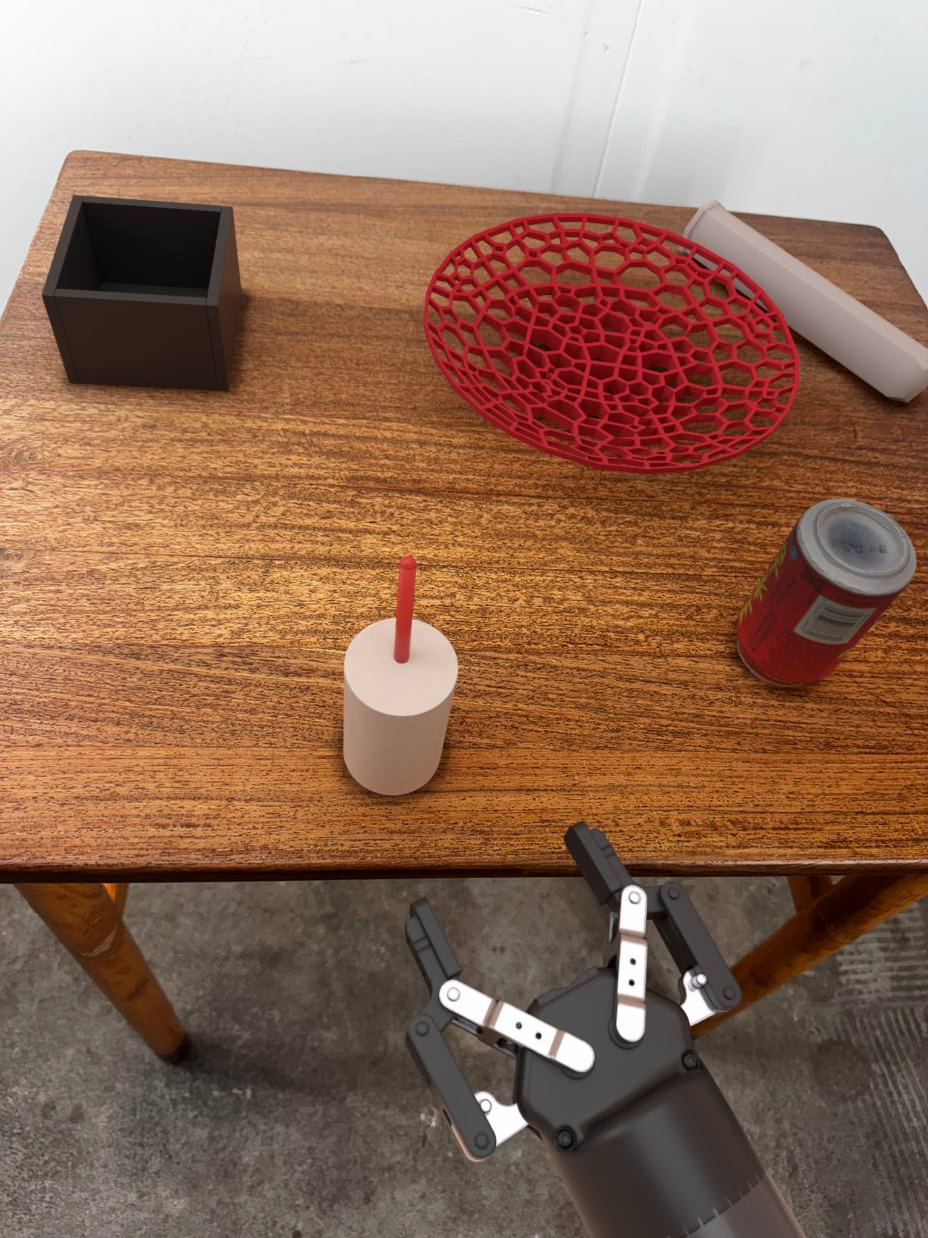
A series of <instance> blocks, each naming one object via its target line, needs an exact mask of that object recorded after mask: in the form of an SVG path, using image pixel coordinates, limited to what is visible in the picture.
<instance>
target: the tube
mask: <svg viewBox="0 0 928 1238" xmlns="http://www.w3.org/2000/svg"><path fill="white" fill-rule="evenodd" d="M681 237H683V238H686V239H688V240H691V241H693V242H695V243H698V244H699V245H701V246H703V247H705V248H706V249H708V250H710V251H711V252H713V253H715V254H717V255H718V256H720V257H722V258H724V259H725V260H727V261H729V262H731V263H732V264H734V265H736V266H737V267H738V268H739V269H740V270H741V271H743V272H744V273H745V274H746V275H747V276H748V277H749V278H751V279H752V280H753V281H754V282H755V283H756V284H757V285H759V286H760V287H761V288H762V289H763V290H764V291H765V293H766V294H767V295H768V296H769V298H770V299H771V300H772V301H773V303H774V304H775V305H776V306H777V308H778V309H779V310H780V312H781V313H782V314H783V315H784V318H785V320H786V323H787V325H788V328H790V329H792V330H793V331H794V332H795V333H796V334H798V335H800V336H801V337H802V338H804V339H805V340H807V341H808V342H810V343H811V344H812V345H813V346H814V347H817V348H818V349H819V350H820V351H822V353H825V354H826V355H828V356H829V357H830V358H832V359H833V360H834V361H836V362H837V363H839V364H840V365H841V366H842V367H844V368H845V369H847V370H848V371H850V372H851V373H852V374H854V375H855V376H857V377H858V378H859V379H861V380H862V381H864V382H865V383H866V384H867V385H870V387H871V388H873V389H875V390H876V391H877V392H878V393H880V394H882V395H883V396H884V397H886V398H887V399H889V400H890V401H897V402H901V403H902V402H903V403H909V402H911V400H912V399H914V398H915V397H916V396H918V395H919V394H920V393H922V392H923V391H924V390H925V389H926V388H928V348H927V347H925V346H924V345H923V344H921V343H920V342H918V341H917V340H915V339H914V338H913V337H911V336H910V335H908V334H907V333H905V332H904V331H902V330H901V329H900V328H898V327H897V326H895V325H894V324H892V323H891V322H890V321H888V320H886V319H885V318H883V317H882V316H880V315H879V314H877V312H874V311H873V310H872V309H870V308H869V307H867V306H866V305H865V304H863V303H862V302H861V301H859V300H857V299H856V298H854V297H853V296H851V295H850V294H848V293H847V292H846V291H844V290H843V289H841V288H839V287H838V286H837V285H835V284H833V283H832V281H830V280H828V279H827V278H825V277H824V276H822V275H820V274H819V273H818V272H816V271H815V270H813V269H812V268H811V267H809V266H808V265H807V264H804V262H802V261H800V260H799V259H797V258H796V257H794V256H793V255H792V254H790V253H789V252H788V251H786V250H784V249H783V248H782V247H780V246H778V245H777V244H776V243H774V242H773V241H771V240H770V239H768V238H767V237H765V236H764V235H763V234H761V233H760V232H758V231H757V230H755V228H752V227H751V226H750V225H748V224H747V223H745V222H744V221H742V220H741V219H739V218H738V217H736V216H735V215H734V214H732V213H730V212H729V211H727V209H726V208H725V207H724V205H723V204H721V203H720V202H719V201H718V200H717V199H714V200H712V201H710V202H708V203H706V204H704V205H702V206H700V207H699V208H698V210H697V211H696V213H695V214H694V216H693V217H692V218H691V219H690V221H689V222H688V224H687V226H686V227H685V228H684V232H683V234H682V236H681ZM677 250H678V251H680V252H681V254H683V256H685V257H688V256H689V254H690V252H691V250H688V249H686V248H684V247H681V246H679V245H678V247H677ZM692 259H694V260H695V261H697V262H699V263H700V264H701V265H702V266H704V267H705V268H706V269H707V270H712V271H715V269H716V268H717V267H718V266H717V265H716V264H714V263H712V262H710V261H709V260H707V259H705V258H704V257H702V256H700V255H698V254H697V253H696V254H695V255H694V257H693V258H692ZM720 273H721V274H723V275H726V276H728V277H729V276H730V275H731V274H730V273H729V272H727V271H726V270H724V269H722V270H721V272H720ZM732 282H733V284H734V287H735V290H736V291H739V292H740V293H742V294H743V295H744V296H746V297H747V298H748V299H749V300H750V301H751V300H752V298H753V297H754V295H755V294H754V293H753V292H752V291H750V290H749V289H748V288H747V287H746V286H745V285H744V284H743V283H741V282H740V281H739V280H738V279H737V278H735V279H734V280H733V281H732ZM755 304H757V306H760V307H761V308H762V309H763V310H765V311H766V312H767V313H770V312H769V311H768V310H767V308H766V307H765V306H764V305H763V303H762V302H761V301H760V300H759V298H758V300H757V301H756V303H755Z"/></svg>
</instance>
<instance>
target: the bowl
mask: <svg viewBox="0 0 928 1238" xmlns="http://www.w3.org/2000/svg"><path fill="white" fill-rule="evenodd" d="M551 223H552V225H553V227H554V230H552V231H550V232H545V231H542V230H537V229H533V228H530V226H535V225H536V226H537V225H542V224H551ZM561 223H581V224H580V227H579V228H577V227H575V228H573V227H563V226H562V224H561ZM587 223H589V224H596V225H597V224H598V225H605V226H612V228H611V231H608V232H602V233H597V232H594V231H591V230H588V229H585V228H586V225H587ZM619 227H620V228H624V229H628V230H631V231H632V233H633V235H634V237H635V239H636V240H634V241H633V242H632V241H630V240H629V241H628V240H627V239H623V238H622V237H621V236H620V235H619V234H618V233H617V230H618V228H619ZM518 228H522V231H521V232H519V233H518V232H517V230H516V229H518ZM506 232H508V233H509V235H510V237H511V240H509V241H508V242H507V243H505V242H498V241H494V240H493V239H492V238H493V237H496V236H498V235H502V234H504V233H506ZM644 234H645V235H648V236H652V237H654V238H657V240H654V239H650V238H647V237H645V236H644ZM526 238H528V239H532V240H536V241H539V242H543V243H544V244H543V245H541V246H540V247H531V246H529V245H527V244H526V242H525V241H524V240H525V239H526ZM568 238H573V239H571V240H569V239H568ZM574 238H576V239H574ZM577 238H578V239H577ZM556 239H558V240H559V243H553V242H552V241H553V240H556ZM583 239H584V240H587V241H590V242H594V243H596V244H597V245H595V246H594V247H592V246H590V245H589V244H588V243H587V242H586V241H584V240H583ZM611 240H613V241H614V243H613V242H607V241H611ZM482 241H483V242H484V243H485V244H486V245H488V246H489V247H490V249H491V253H487V254H484V253H483V251H482V250H481V249H480V247H479V246H478V244H479V243H480V242H482ZM665 241H667V242H670V243H672V244H674V245H676V246H678V247H679V246H681V247H684V248H686V249H688V250H691V252H690V254H689V256H688V257H687V256H686V255H679V254H676V253H673V252H672V251H671V250H669V249H667V248H666V247H665V246H664V245H662V244H663V243H664V242H665ZM514 247H518V248H519V250H520V251H521V252H522V253H523V255H524V258H523V259H522V260H521V261H520V262H518V263H517V264H516V265H514V264H513V263H512V261H511V260H510V259H509V257H508V256H507V252H508V251H509V250H511V249H512V248H514ZM576 248H577V249H579V250H580V251H581V252H582V253H584V255H586V256H587V257H588V263H587V262H584V261H581V260H577V259H573V258H571V256H570V255H569V253H568V251H569V250H572V249H576ZM468 249H471V251H472V252H473V254H474V255H475V257H476V259H477V260H476V261H472V260H470V259H468V258H467V257H466V254H465V252H466V251H467V250H468ZM548 252H550V253H555V254H560V256H561V258H562V260H563V261H562V262H561V263H560V264H558V265H554V264H553V263H551V262H550V261H547V260H546V259H544V258H542V255H543V254H546V253H548ZM602 252H604V253H605V252H606V253H615V254H617V255H619V256H620V257H623V262H622V263H621V264H620V265H619V266H617V267H616V268H614V269H612V268H609V267H604V266H599V265H596V258H595V256H597V255H599V254H600V253H602ZM654 252H655V253H657V254H659V255H661V256H662V257H664V258H665V259H667V260H668V262H669V263H667V264H665V265H662V266H660V267H659V266H658V265H657V264H655V263H654V262H653V261H651V260H650V259H649V258H648V255H650V254H652V253H654ZM633 253H635V254H638V255H641V258H631V254H633ZM696 253H697V254H698V255H700V256H702V257H704V258H705V259H707V260H709V261H710V262H712V263H714V264H716V265H717V266H718V267H717V268H716V269H715V271H712V270H710V269H708V268H702V267H700V265H698V264H697V263H696V262H695V261H694V260H693V259H694V258H693V257H694V255H695V254H696ZM492 261H496V262H497V263H500V264H503V265H504V266H505V267H506V270H505V271H503V272H500V273H498V272H497V271H496V270H495V269H494V267H493V266H492V265H491V262H492ZM450 264H451V265H452V266H453V269H454V270H453V272H451V274H449V275H448V274H445V273H444V272H445V271H446V269H447V268H448V267H449V266H450ZM461 266H464V267H465V268H467V269H468V270H469V274H468V275H467V274H466V275H463V276H462V275H461V273H459V267H461ZM482 267H483V269H484V270H485V272H486V273H487V275H488V276H489V279H488V280H487V281H485V282H483V283H481V282H480V281H479V280H478V279H477V278H476V277H475V276H474V275H475V271H476V270H478V269H480V268H482ZM524 268H538V269H540V270H541V271H543V272H544V273H546V274H547V275H548V276H550V282H545V283H544V282H542V283H535V284H534V283H533V284H530V283H529V282H528V280H527V279H525V277H524V276H523V274H521V272H522V270H523V269H524ZM631 268H635V269H636V268H642V269H643V268H644V269H647V270H649V271H650V272H651V273H652V274H654V275H656V276H657V277H658V280H659V282H660V284H657V285H655V286H654V287H652V288H650V289H645V288H641V287H634V286H628V285H623V283H622V281H621V280H620V278H619V277H620V276H621V275H622V274H624V273H625V272H626V271H627V270H629V269H631ZM722 269H724V270H726V271H727V272H729V273H730V274H731V275H730V276H729V277H728V276H726V275H723V274H721V273H720V272H721V270H722ZM567 270H570V271H573V272H576V273H580V274H584V275H586V276H589V278H590V283H587V284H580V285H569V284H566V283H565V284H564V283H561V282H557V276H558V275H560V274H562V273H564V272H566V271H567ZM671 272H674V273H679V274H682V275H683V276H684V277H685V279H686V280H687V281H686V283H685V284H684V285H683V286H681V285H678V284H675V283H672V282H669V281H668V278H667V276H666V275H667V274H668V273H671ZM431 276H432V277H431V279H430V282H429V285H428V286H427V290H426V291H425V296H424V297H425V298H424V308H423V309H424V310H423V323H422V324H423V329H424V334H425V339H426V342H427V344H428V346H429V349H430V353H431V354H432V358H433V360H434V363H435V365H436V366H437V368H438V370H439V371H440V372H441V374H442V376H443V377H444V379H445V380H446V381H447V383H448V384H449V385H450V387H451V389H452V390H453V391H454V392H455V393H456V394H457V395H458V396H459V397H460V398H461V399H462V400H463V401H464V402H465V403H466V404H467V405H468V406H469V407H470V408H471V409H472V410H473V411H474V412H475V413H476V414H477V415H479V416H480V417H481V418H483V419H485V420H486V421H488V423H490V424H492V425H493V426H495V427H496V428H498V429H499V430H500V431H502V432H503V433H505V434H506V435H507V436H509V437H512V438H514V439H515V440H517V441H520V442H521V443H524V444H525V445H528V446H530V447H532V448H534V449H536V450H537V451H540V452H542V453H544V454H547V455H551V456H553V457H556V458H560V459H563V460H566V461H570V462H573V463H576V464H579V465H581V466H586V467H589V468H593V469H596V470H603V471H612V472H622V473H632V474H641V475H657V474H671V473H686V472H687V473H688V472H695V471H698V470H701V469H704V468H708V467H711V466H715V465H717V464H720V463H722V462H727V461H730V460H732V459H736V458H738V457H739V456H741V455H742V454H744V453H746V452H748V451H750V450H751V449H753V448H754V447H756V446H758V445H759V444H761V443H762V442H764V441H765V440H766V439H767V438H768V437H770V436H771V435H772V434H773V433H775V432H776V430H777V429H778V427H779V426H780V425H781V423H782V422H783V421H784V419H785V418H786V416H787V415H788V413H789V412H790V410H791V407H792V404H793V402H794V400H795V396H796V394H797V391H798V388H799V385H800V369H801V368H800V364H801V363H800V362H801V357H800V354H799V352H798V349H797V346H796V344H795V341H794V339H793V336H792V334H791V333H792V332H791V331H790V329H789V328H790V327H789V326H788V325H787V323H786V320H785V318H784V315H783V314H782V313H781V312H780V310H779V309H778V308H777V306H776V305H775V304H774V303H773V301H772V300H771V299H770V298H769V296H768V295H767V294H766V293H765V291H764V290H763V289H762V288H761V287H760V286H759V285H757V284H756V283H755V282H754V281H753V280H752V279H751V278H749V277H748V276H747V275H746V274H745V273H744V272H743V271H741V270H740V269H739V268H738V267H737V266H736V265H734V264H732V263H731V262H729V261H727V260H725V259H724V258H722V257H720V256H718V255H717V254H715V253H713V252H711V251H710V250H708V249H706V248H705V247H703V246H701V245H699V244H698V243H695V242H693V241H691V240H688V239H686V238H683V237H682V236H681V235H679V234H676V233H674V232H671V231H669V230H666V229H663V228H660V227H656V226H652V225H649V224H645V223H642V222H639V221H635V220H633V219H629V218H624V217H617V216H611V215H610V216H609V215H603V214H602V215H601V214H596V213H588V212H552V213H546V214H545V213H544V214H539V215H532V216H524V217H517V218H514V219H511V220H509V221H506V222H504V223H501V224H498V225H495V226H493V227H490V228H488V229H485V230H483V231H480V232H478V233H475V234H472V235H471V236H470V237H469V238H467V239H466V240H464V241H463V242H462V243H460V244H459V245H457V246H456V247H454V248H453V249H452V250H450V251H449V253H448V254H447V256H446V257H445V258H444V260H443V261H442V262H441V264H440V265H439V266H438V268H436V270H435V271H434V273H433V274H432V275H431ZM735 278H737V279H738V280H739V281H740V282H741V283H743V284H744V285H745V286H746V287H747V288H748V289H749V290H750V291H752V292H753V293H754V294H755V295H754V297H753V298H752V300H751V299H749V298H746V297H744V296H742V295H740V294H738V293H737V289H736V288H735V287H734V284H733V282H732V281H733V280H734V279H735ZM599 279H603V280H607V281H610V283H604V282H600V281H599ZM511 280H513V281H514V282H515V284H516V285H517V286H518V288H515V289H513V288H512V287H511V286H510V285H509V284H508V283H507V282H509V281H511ZM713 281H714V282H717V283H719V284H721V285H723V286H725V287H726V290H727V293H728V296H729V297H728V298H727V299H725V300H724V299H722V298H719V297H718V296H714V295H712V293H711V289H710V284H712V283H713ZM437 282H441V283H446V284H447V285H448V286H449V287H450V288H451V290H449V289H447V288H445V287H442V286H440V285H437ZM470 285H471V286H472V287H473V289H471V290H470V291H467V290H466V289H464V287H463V286H470ZM693 285H694V286H697V287H700V288H701V290H702V292H703V295H704V298H703V299H700V300H698V301H697V300H696V299H695V297H694V296H693V294H692V293H691V291H690V289H691V287H692V286H693ZM496 287H497V288H498V289H499V290H500V291H501V293H502V294H503V295H504V297H503V298H496V297H490V295H489V293H488V292H489V291H491V290H492V289H495V288H496ZM433 293H434V294H435V295H438V296H440V297H442V298H445V299H447V300H448V305H440V304H439V303H438V302H437V301H436V300H435V299H434V298H433V297H432V294H433ZM662 293H667V294H671V295H675V296H680V297H681V298H682V300H683V301H684V303H685V305H686V306H685V307H683V308H680V309H679V310H677V309H675V308H673V307H671V306H669V305H666V304H665V303H663V302H661V300H660V299H659V298H658V296H659V295H661V294H662ZM545 296H551V298H552V299H542V298H540V297H545ZM479 297H480V298H481V299H482V301H483V302H484V304H483V306H481V305H480V304H479V303H478V302H477V300H476V299H477V298H479ZM590 297H593V299H594V302H581V301H580V300H579V299H584V298H590ZM610 298H614V299H610ZM615 298H616V299H615ZM758 298H759V300H760V301H761V302H762V303H763V305H764V306H765V307H766V308H767V310H768V311H769V312H770V313H769V312H768V311H767V310H766V311H767V312H766V313H765V312H764V311H763V310H762V309H760V307H759V306H758V305H756V304H757V303H756V301H757V300H758ZM524 299H527V300H528V301H529V303H530V305H531V307H532V308H530V307H529V306H527V305H525V304H523V303H522V302H521V300H524ZM632 301H636V302H637V301H639V302H644V303H646V304H647V305H648V307H645V306H644V307H643V306H639V305H637V304H635V303H634V302H632ZM453 302H463V303H467V304H468V305H469V307H470V308H471V309H472V311H474V313H475V314H476V315H477V317H476V319H475V320H474V323H471V322H468V321H466V320H464V319H462V318H460V317H459V316H458V315H457V313H456V311H455V310H454V308H453ZM731 304H735V305H737V306H739V307H740V308H743V309H744V310H745V311H744V312H739V313H738V312H737V313H733V312H732V309H731V307H730V305H731ZM707 305H708V306H711V307H714V308H716V309H718V310H721V312H722V316H718V317H715V318H710V317H709V316H708V315H707V313H706V312H705V311H704V310H703V308H704V307H705V306H707ZM429 307H431V309H433V310H434V311H435V312H436V313H437V314H438V316H439V319H440V320H441V322H440V323H439V324H438V325H435V324H434V322H432V321H430V320H429ZM561 308H566V309H570V310H571V311H567V310H566V311H565V310H562V309H561ZM490 309H492V310H503V311H504V313H505V314H506V315H507V316H508V317H509V318H507V319H503V320H500V319H499V318H497V317H496V316H494V315H492V314H491V313H490V312H489V311H490ZM618 312H620V313H618ZM621 313H622V314H621ZM545 314H548V315H549V316H548V315H545ZM749 314H751V315H752V316H753V317H754V318H752V317H751V316H749ZM445 315H449V316H450V318H451V320H453V322H454V324H455V325H454V324H452V323H450V322H449V321H447V320H446V319H447V318H446V316H445ZM516 316H517V317H519V318H520V319H519V318H517V317H516ZM690 316H693V317H694V319H695V320H696V321H691V320H690V319H689V318H688V317H690ZM773 320H775V321H776V322H774V321H773ZM483 322H484V323H485V324H487V325H488V326H489V327H491V328H492V329H493V330H495V331H496V332H497V333H498V335H499V337H500V339H501V342H502V344H500V346H486V345H485V342H484V341H483V338H482V336H481V333H480V332H479V329H480V327H481V326H482V324H483ZM647 322H649V323H647ZM760 324H762V325H764V326H765V327H766V328H767V330H764V329H759V327H758V326H759V325H760ZM671 325H675V326H677V327H678V328H680V329H681V330H683V331H684V332H685V333H684V335H682V336H678V337H673V338H668V337H667V336H666V334H665V333H663V331H662V330H661V329H663V328H666V327H669V326H671ZM725 325H730V326H731V327H733V328H735V329H737V330H739V331H740V333H741V336H742V338H743V340H742V341H739V342H737V343H734V344H732V343H730V342H728V341H725V340H723V339H721V338H720V336H719V334H718V331H717V328H719V327H722V326H725ZM603 327H607V328H608V329H611V330H614V331H608V330H605V329H604V328H603ZM460 330H462V331H464V332H466V333H469V334H471V335H472V336H473V340H474V342H475V344H472V343H469V342H468V341H467V339H466V338H465V336H464V334H463V333H462V332H461V331H460ZM445 331H446V332H449V333H450V334H451V335H453V336H455V337H456V339H457V340H458V341H459V343H460V344H461V346H462V347H463V352H462V354H461V353H460V352H459V351H457V350H454V349H453V348H451V347H450V346H448V345H447V343H446V340H445V338H444V336H443V332H445ZM615 331H616V332H615ZM774 331H780V332H781V335H782V337H783V340H784V342H785V343H781V342H778V341H777V340H776V338H775V337H774V336H773V335H772V332H774ZM431 332H432V333H431ZM512 332H514V333H515V334H517V335H518V336H520V337H522V338H523V339H525V341H523V340H519V339H516V338H513V337H511V336H510V335H509V333H512ZM701 332H704V333H705V334H706V336H707V339H708V340H709V343H710V344H711V345H710V346H709V348H703V347H699V346H694V344H693V343H692V342H691V340H690V339H689V336H690V335H691V334H696V333H701ZM758 339H759V340H758ZM760 340H765V342H766V343H767V344H764V343H762V342H761V341H760ZM530 342H534V343H537V344H542V345H545V346H546V347H548V348H549V349H550V350H548V351H543V350H542V349H540V348H538V347H536V346H534V345H532V344H530ZM746 347H749V348H751V349H752V350H755V351H756V352H757V353H759V356H760V360H759V361H757V362H756V363H753V364H752V363H749V362H747V361H744V360H741V359H739V358H738V357H737V355H738V354H737V351H738V350H740V349H743V348H746ZM437 348H438V349H439V350H440V351H441V352H443V354H444V357H445V359H443V358H441V357H440V356H439V354H438V353H439V352H438V351H437ZM716 350H717V351H719V352H723V353H727V354H729V359H727V360H724V361H720V362H717V360H716V358H715V356H714V353H715V352H716ZM678 351H680V352H681V353H680V352H679V353H678ZM771 351H777V352H781V353H785V354H789V356H790V360H787V361H783V362H782V361H779V360H776V359H773V358H769V357H768V355H767V354H768V352H771ZM509 352H511V353H513V354H515V355H517V356H516V357H512V356H510V354H509ZM469 354H471V355H474V356H477V357H479V358H480V357H481V359H482V361H483V363H484V366H485V367H481V366H478V365H477V364H475V362H473V361H471V360H470V359H468V356H469ZM492 359H493V360H499V361H500V362H501V363H502V364H503V365H504V366H505V367H506V368H507V370H509V371H510V375H511V376H508V375H506V374H504V373H502V372H500V371H497V369H496V367H495V365H494V363H493V361H492ZM454 360H455V361H457V362H458V363H460V364H461V366H459V365H457V364H456V363H455V361H454ZM599 360H601V361H599ZM698 362H704V363H698ZM652 367H659V368H663V369H667V371H663V372H658V371H655V370H652V369H648V368H652ZM761 367H763V368H766V369H771V370H773V371H778V372H777V373H776V374H774V375H772V376H771V377H769V378H763V377H759V375H758V372H757V370H759V369H761ZM729 369H734V370H736V371H739V372H742V373H745V374H748V375H749V376H750V380H751V382H749V384H748V385H747V386H741V385H740V386H739V385H732V384H726V383H724V381H723V378H722V375H721V373H722V372H724V371H727V370H729ZM787 369H792V370H787ZM450 372H452V373H453V375H454V376H455V377H456V379H457V380H458V382H456V380H455V379H454V377H453V376H452V375H451V373H450ZM520 372H521V373H523V374H524V375H523V374H521V373H520ZM691 376H709V377H710V380H711V382H712V385H709V386H702V385H698V384H695V383H692V382H689V381H688V379H687V378H689V377H691ZM482 378H483V379H486V380H489V381H492V382H493V383H494V384H495V385H496V386H497V388H498V389H499V390H500V391H498V390H497V389H495V388H493V387H492V386H490V385H489V384H486V383H485V382H484V381H483V379H482ZM781 379H792V383H791V384H789V385H786V386H783V387H781V388H769V386H770V385H773V384H774V383H776V382H778V381H780V380H781ZM671 385H673V386H674V387H675V388H673V387H670V386H671ZM788 393H790V394H789V396H788V400H787V403H786V404H781V403H780V402H779V401H778V400H777V398H778V397H781V396H783V395H786V394H788ZM721 395H723V396H733V397H741V400H737V401H736V400H735V401H729V402H728V401H727V400H726V399H724V398H723V397H721ZM684 396H686V397H690V398H694V399H698V400H696V401H694V402H691V403H685V402H676V401H679V400H680V399H681V398H683V397H684ZM749 397H759V399H757V400H750V399H749ZM507 401H508V402H510V403H512V404H513V405H514V406H515V407H517V408H518V409H519V410H520V411H521V412H519V411H517V410H515V409H513V408H512V407H511V406H510V405H509V404H508V403H506V402H507ZM659 401H660V402H659ZM763 404H768V405H770V406H771V407H772V408H771V409H769V408H760V407H758V406H760V405H763ZM707 406H714V407H716V408H717V411H716V412H710V413H698V411H697V410H699V409H700V408H703V407H707ZM739 410H743V411H744V412H746V413H747V416H746V417H745V418H744V419H743V420H728V419H726V417H724V416H723V415H724V414H725V413H727V412H733V411H739ZM780 413H781V414H780ZM587 415H589V416H593V417H589V416H587ZM533 416H537V417H542V418H544V419H546V420H548V421H550V422H552V423H554V424H555V425H557V426H560V427H561V428H563V429H565V430H568V432H567V431H563V430H560V429H555V428H552V427H549V426H547V425H545V424H543V423H542V422H540V421H539V420H537V419H535V418H534V417H533ZM595 417H597V418H595ZM675 417H681V418H679V419H676V418H675ZM753 417H759V418H761V417H762V418H768V419H770V420H771V421H772V422H774V423H773V425H772V426H764V427H763V426H762V427H755V426H754V425H753V424H752V423H751V422H750V421H751V420H752V418H753ZM706 423H708V424H709V423H712V424H714V425H715V426H717V428H719V429H718V430H717V431H713V432H709V433H705V434H703V433H699V432H693V431H687V430H684V428H687V427H688V426H690V425H693V424H706ZM741 428H742V429H743V430H744V432H746V433H744V434H743V435H741V436H729V435H727V436H725V435H724V434H723V432H724V431H726V430H733V429H741ZM586 436H587V437H586ZM615 436H617V437H615ZM547 437H550V438H554V439H557V440H561V441H565V442H568V443H572V444H568V445H567V444H564V443H561V442H559V441H555V440H552V439H550V438H547ZM588 437H589V438H588ZM590 437H591V438H590ZM592 438H594V439H596V440H594V439H592ZM677 441H684V442H692V443H698V444H694V445H684V444H683V445H682V444H677V443H676V442H677ZM657 445H660V446H661V447H662V448H664V449H649V448H648V446H657ZM739 445H743V446H741V447H739V448H738V449H733V448H735V447H737V446H739ZM646 446H647V448H646ZM706 450H711V451H708V452H705V453H699V452H702V451H706ZM602 452H604V453H608V454H613V455H617V456H621V457H611V456H605V454H603V453H602ZM673 453H674V454H673ZM719 455H720V456H719ZM679 460H694V461H700V462H695V463H691V464H683V463H678V462H675V461H679Z"/></svg>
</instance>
